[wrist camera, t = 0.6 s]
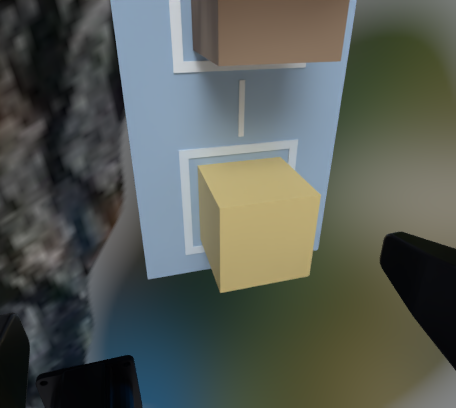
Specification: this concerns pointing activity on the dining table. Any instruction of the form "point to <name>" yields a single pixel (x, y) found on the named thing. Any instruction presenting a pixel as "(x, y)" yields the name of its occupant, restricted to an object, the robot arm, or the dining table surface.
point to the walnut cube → (269, 31)
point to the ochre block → (256, 222)
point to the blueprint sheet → (212, 122)
